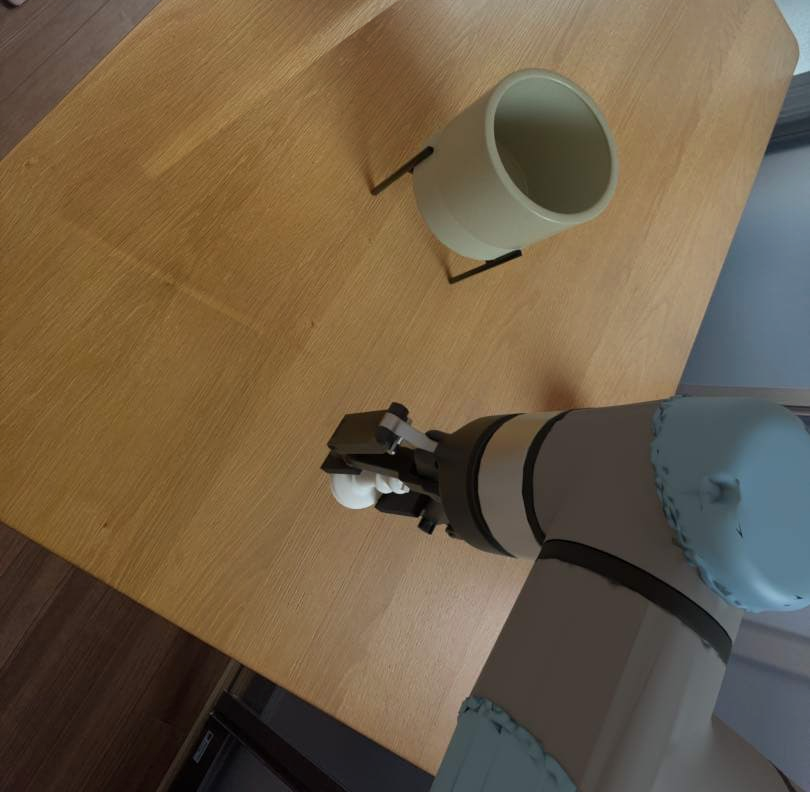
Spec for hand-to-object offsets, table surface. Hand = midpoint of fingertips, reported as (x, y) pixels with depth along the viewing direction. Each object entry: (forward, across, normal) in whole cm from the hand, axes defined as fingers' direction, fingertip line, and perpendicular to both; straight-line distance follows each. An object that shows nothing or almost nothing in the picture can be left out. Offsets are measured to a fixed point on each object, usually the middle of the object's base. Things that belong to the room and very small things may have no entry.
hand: (359, 475), depth 59 cm
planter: (+15, +3, -33) cm, 36 cm away
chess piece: (0, 0, 0) cm, 0 cm away
